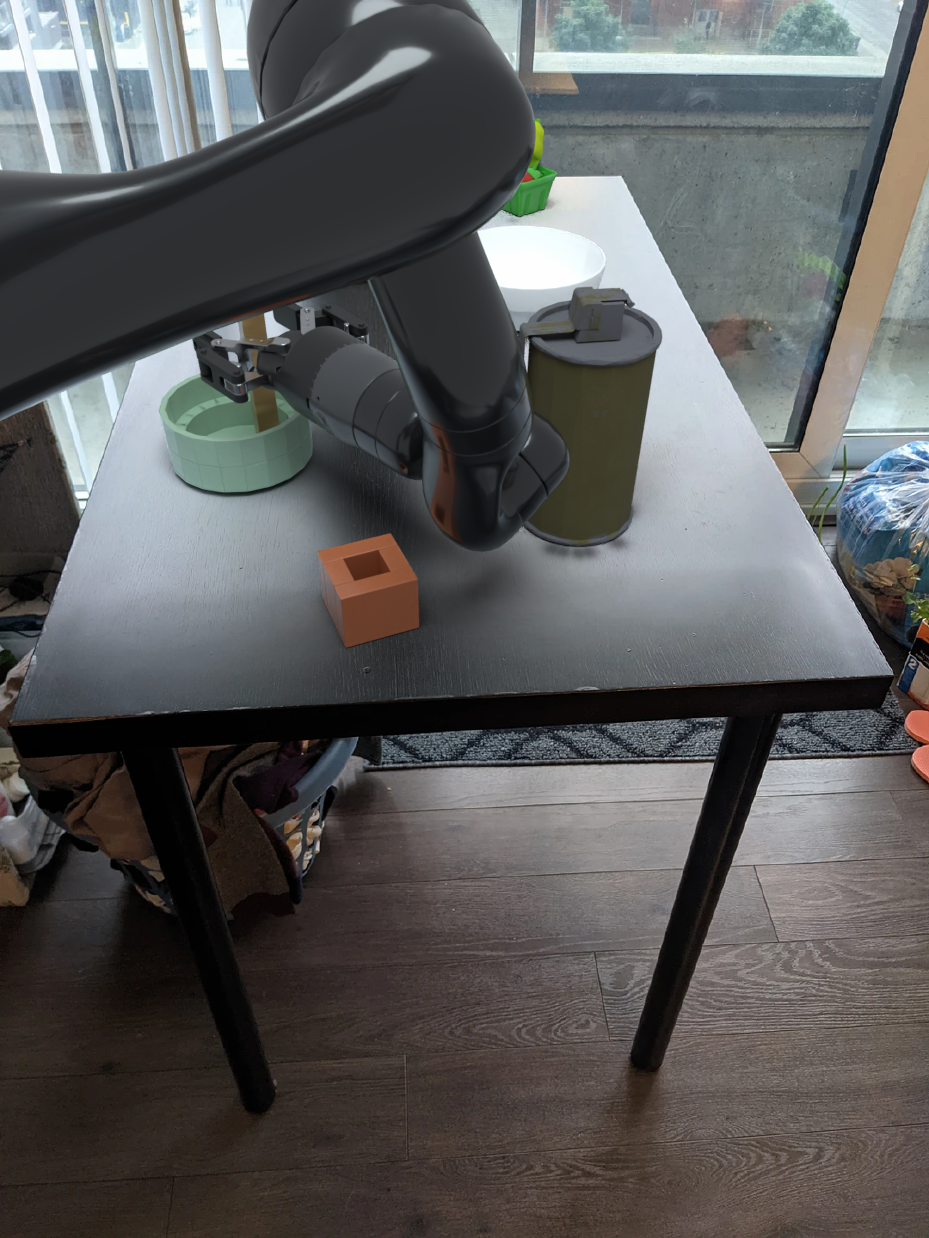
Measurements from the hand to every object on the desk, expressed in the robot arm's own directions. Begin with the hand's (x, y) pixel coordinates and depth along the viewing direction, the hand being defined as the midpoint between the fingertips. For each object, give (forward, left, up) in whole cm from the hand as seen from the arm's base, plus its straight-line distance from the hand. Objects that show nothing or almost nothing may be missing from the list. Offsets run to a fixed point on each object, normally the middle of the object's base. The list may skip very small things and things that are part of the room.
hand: (237, 321), depth 84 cm
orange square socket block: (+2, -27, -13) cm, 30 cm away
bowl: (+36, +16, -13) cm, 41 cm away
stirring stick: (+1, -2, -12) cm, 12 cm away
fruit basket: (+51, +50, -13) cm, 72 cm away
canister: (+23, -21, -13) cm, 34 cm away
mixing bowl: (-2, -2, -13) cm, 13 cm away
